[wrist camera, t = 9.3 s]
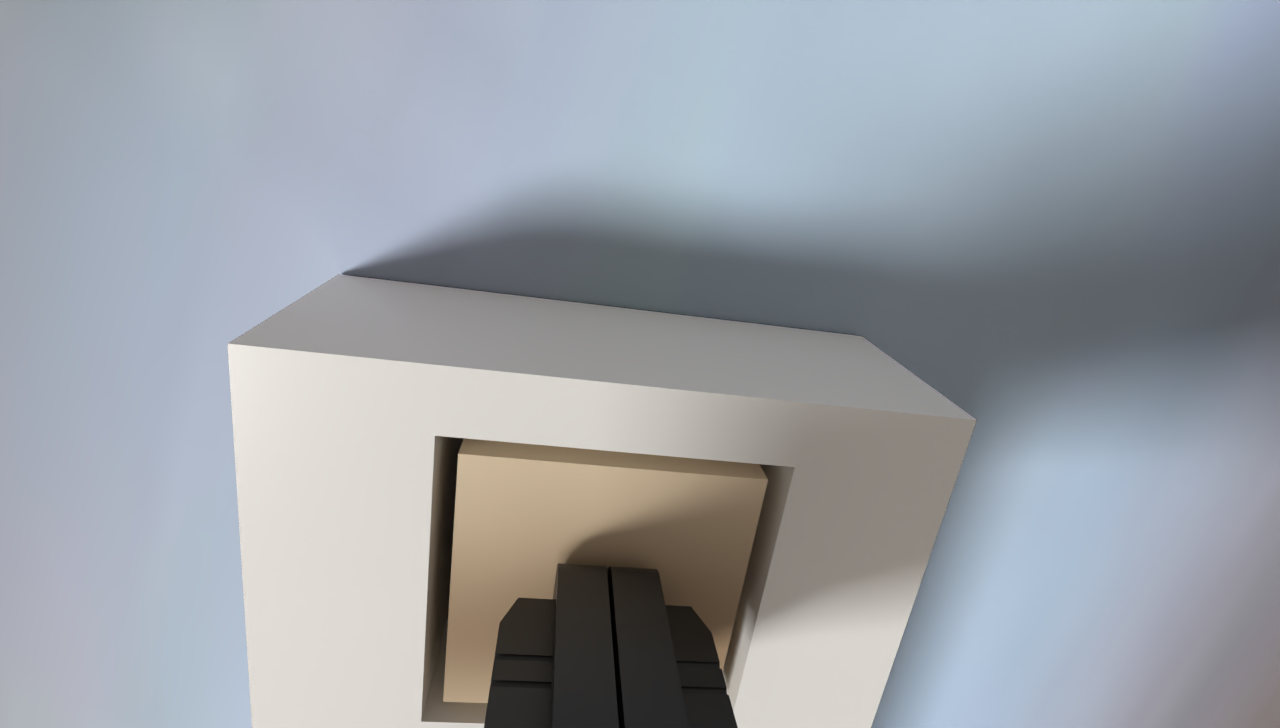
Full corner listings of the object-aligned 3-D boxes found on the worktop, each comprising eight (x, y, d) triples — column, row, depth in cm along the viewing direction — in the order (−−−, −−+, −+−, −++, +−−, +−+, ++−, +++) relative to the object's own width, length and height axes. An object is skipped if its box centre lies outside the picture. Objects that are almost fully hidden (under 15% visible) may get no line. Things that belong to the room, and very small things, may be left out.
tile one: (482, 385, 11) (456, 458, 9) (729, 409, 12) (771, 484, 9) (467, 595, 13) (441, 710, 10) (688, 607, 13) (715, 718, 11)
